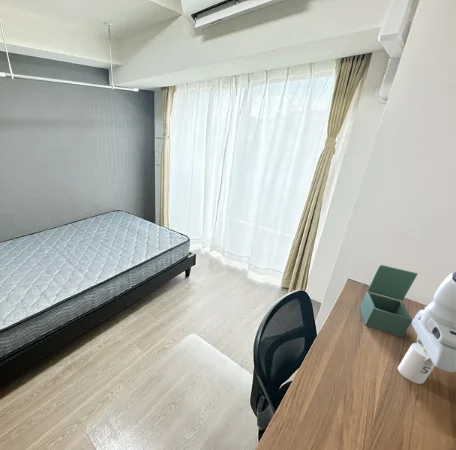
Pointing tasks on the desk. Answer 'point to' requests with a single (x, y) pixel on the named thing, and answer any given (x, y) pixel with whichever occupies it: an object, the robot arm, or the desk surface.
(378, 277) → the box lid
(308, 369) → the desk surface
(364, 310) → the box
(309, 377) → the desk surface
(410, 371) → the candle
